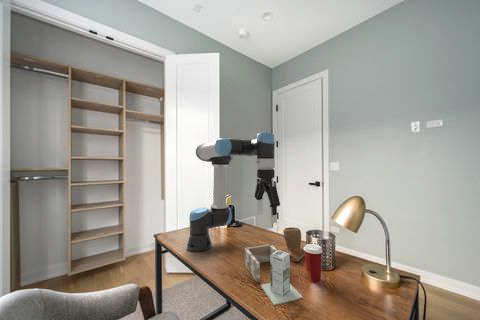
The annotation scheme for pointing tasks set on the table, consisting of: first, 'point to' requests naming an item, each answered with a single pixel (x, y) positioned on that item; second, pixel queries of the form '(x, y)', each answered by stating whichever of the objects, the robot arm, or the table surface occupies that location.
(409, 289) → the table surface
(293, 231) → the brown boot
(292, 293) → the mat
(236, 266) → the table surface
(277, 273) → the syrup box
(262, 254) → the cubby
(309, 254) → the paper cup
